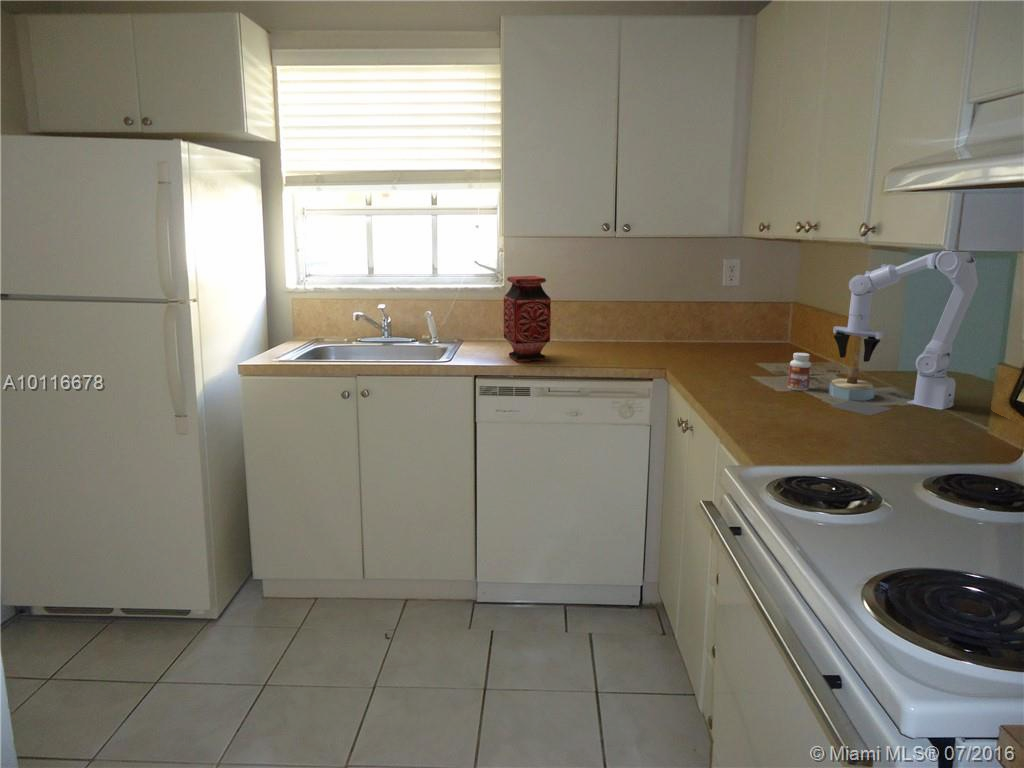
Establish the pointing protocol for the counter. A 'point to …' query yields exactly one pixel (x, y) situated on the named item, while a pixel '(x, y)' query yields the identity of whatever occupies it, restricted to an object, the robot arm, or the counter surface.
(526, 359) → the vase
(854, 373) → the lid
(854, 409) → the mat
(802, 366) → the pill bottle
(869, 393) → the bowl
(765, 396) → the counter surface
